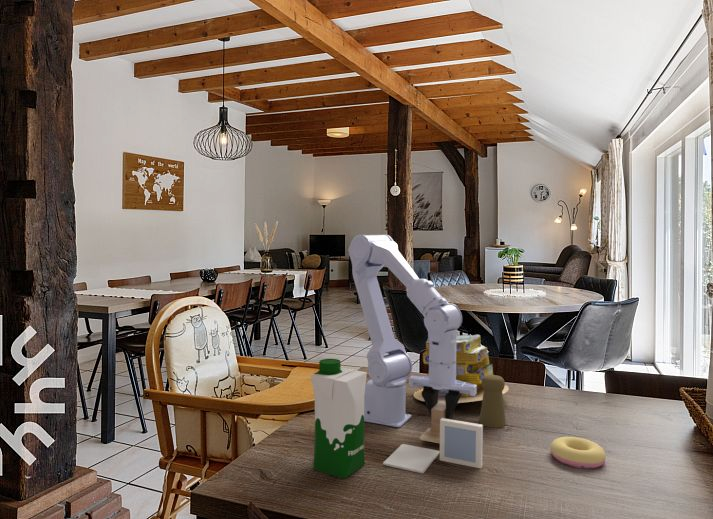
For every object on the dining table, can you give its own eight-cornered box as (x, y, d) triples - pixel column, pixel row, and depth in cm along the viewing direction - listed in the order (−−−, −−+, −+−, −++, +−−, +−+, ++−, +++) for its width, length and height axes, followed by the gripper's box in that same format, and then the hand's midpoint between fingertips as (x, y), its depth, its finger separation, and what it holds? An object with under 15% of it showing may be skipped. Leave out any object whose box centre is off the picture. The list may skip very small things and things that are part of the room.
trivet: (383, 464, 100) (383, 462, 100) (402, 445, 109) (402, 443, 109) (423, 473, 97) (423, 471, 97) (439, 452, 106) (439, 450, 106)
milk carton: (332, 453, 106) (332, 354, 105) (371, 464, 101) (372, 360, 100) (306, 470, 98) (305, 364, 97) (346, 482, 93) (346, 371, 92)
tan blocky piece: (434, 423, 118) (434, 399, 117) (456, 427, 116) (456, 403, 115) (420, 439, 109) (420, 413, 109) (443, 444, 107) (443, 417, 107)
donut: (567, 457, 110) (541, 462, 104) (566, 433, 110) (540, 438, 105) (615, 466, 102) (590, 472, 96) (614, 441, 103) (589, 446, 97)
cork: (507, 428, 119) (507, 380, 118) (479, 426, 120) (480, 378, 119) (505, 419, 125) (505, 373, 124) (478, 417, 126) (479, 371, 125)
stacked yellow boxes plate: (394, 397, 141) (395, 335, 140) (448, 379, 158) (449, 323, 157) (475, 421, 123) (476, 351, 122) (525, 397, 141) (526, 335, 140)
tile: (439, 460, 103) (439, 420, 102) (441, 457, 104) (441, 417, 103) (480, 468, 99) (481, 427, 99) (482, 465, 100) (482, 424, 100)
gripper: (404, 361, 113) (403, 423, 113) (471, 369, 106) (470, 435, 107) (415, 354, 119) (414, 413, 120) (479, 361, 112) (478, 424, 113)
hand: (441, 423), depth 114 cm, fingers closed on tan blocky piece, 3 cm apart
